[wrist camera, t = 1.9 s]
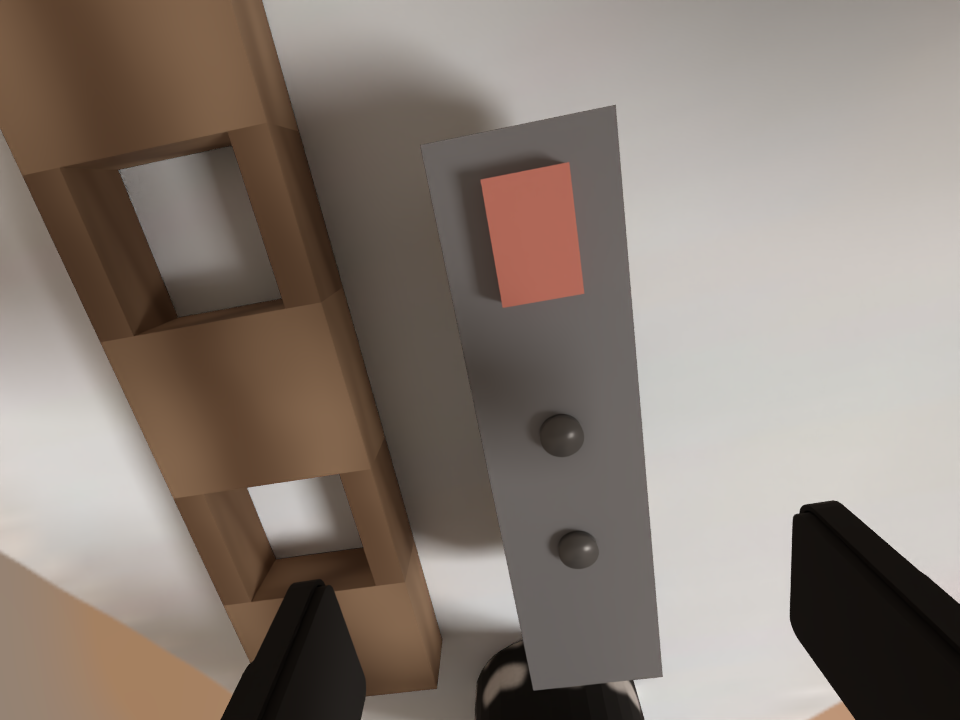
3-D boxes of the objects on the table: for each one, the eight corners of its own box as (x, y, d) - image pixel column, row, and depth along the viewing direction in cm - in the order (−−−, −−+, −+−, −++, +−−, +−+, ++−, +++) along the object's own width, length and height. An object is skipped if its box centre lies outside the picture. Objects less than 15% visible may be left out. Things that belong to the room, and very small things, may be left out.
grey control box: (573, 131, 17) (622, 100, 10) (620, 553, 22) (668, 693, 16) (444, 158, 17) (416, 142, 11) (523, 565, 23) (534, 707, 17)
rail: (235, -93, 15) (186, -147, 12) (442, 640, 25) (437, 688, 22) (-3, -32, 15) (-93, -71, 13) (291, 658, 25) (270, 706, 23)
